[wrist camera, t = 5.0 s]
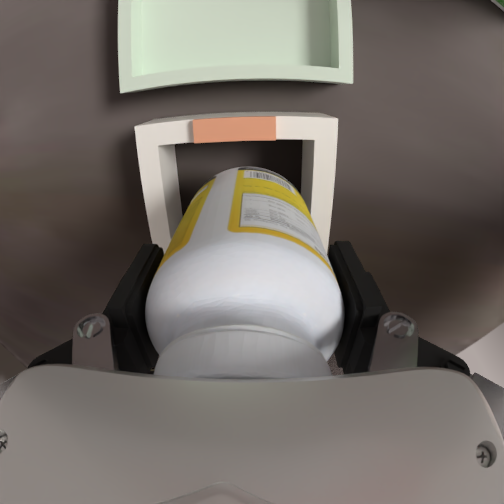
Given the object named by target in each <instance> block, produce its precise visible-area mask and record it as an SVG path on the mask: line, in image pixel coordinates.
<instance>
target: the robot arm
mask: <svg viewBox="0 0 504 504" xmlns="http://www.w3.org/2000/svg"><path fill="white" fill-rule="evenodd" d="M163 256H164V251H163V248H162V247H159V246H158V244H144V245H143V246H142V248H141V249H140V251H139V252H138V254H137V256H136V257H135V259H134V261H133V262H132V264H131V266H130V267H129V269H128V271H127V273H126V274H125V275H124V277H123V278H122V280H121V281H120V283H119V285H118V287H117V288H116V290H115V292H114V294H113V296H112V297H111V299H110V301H109V303H108V305H107V306H106V308H105V310H104V312H103V314H99V313H94V314H89V315H87V316H85V317H83V318H81V319H80V320H79V321H78V322H77V323H76V325H75V326H74V330H73V339H71V340H69V341H67V342H65V343H63V344H62V345H60V346H58V347H56V348H54V349H52V350H50V351H48V352H46V353H44V354H42V355H41V356H39V357H37V358H36V359H34V360H33V361H32V362H31V363H30V365H29V366H28V368H27V369H26V370H24V371H22V372H21V373H19V374H18V375H16V376H14V377H13V378H11V379H9V380H7V381H6V382H3V383H2V384H0V504H504V388H502V387H501V386H499V385H497V384H495V383H493V382H492V381H490V380H487V379H486V378H484V377H483V376H481V375H479V374H477V373H474V374H473V375H471V374H470V370H469V368H468V366H467V364H466V363H465V362H464V361H463V360H462V359H460V358H459V357H457V356H455V355H453V354H451V353H449V352H447V351H445V350H444V349H442V348H440V347H438V346H436V345H434V344H432V343H430V342H428V341H426V340H424V339H422V338H420V337H418V326H417V324H416V322H415V321H414V320H413V319H412V318H411V317H410V316H408V315H406V314H404V313H401V312H390V311H389V309H388V307H387V305H386V303H385V301H384V299H383V297H382V295H381V293H380V291H379V289H378V287H377V285H376V283H375V281H374V279H373V277H372V275H371V274H370V273H369V272H365V270H364V268H363V266H362V264H361V262H360V260H359V258H358V257H357V255H356V253H355V251H354V249H353V247H352V245H351V243H350V242H349V241H335V243H334V245H330V248H329V256H328V259H329V262H330V264H331V267H332V269H333V272H334V274H335V277H336V279H337V282H338V285H339V288H340V291H341V295H342V299H343V303H344V311H345V319H344V327H343V332H342V336H341V339H340V341H339V344H338V346H337V348H336V349H335V351H334V352H335V357H336V361H337V365H338V367H339V368H340V367H342V368H343V372H344V375H333V376H320V377H305V378H281V379H215V378H193V377H177V376H164V375H153V374H150V371H151V367H153V368H154V367H155V366H156V363H157V360H158V356H159V354H158V352H157V351H156V349H155V348H154V346H153V344H152V342H151V339H150V337H149V334H148V330H147V326H146V320H145V306H146V300H147V295H148V292H149V288H150V286H151V283H152V280H153V278H154V276H155V274H156V271H157V269H158V267H159V265H160V263H161V261H162V258H163Z"/></svg>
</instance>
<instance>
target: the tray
mask: <svg viewBox="0 0 504 504" xmlns="http://www.w3.org/2000/svg"><path fill="white" fill-rule="evenodd" d="M118 63H119V83H120V93H130V92H139V91H145V90H151V89H157V88H164V87H172V86H180V85H188V84H199V83H210V82H226V81H254V80H278V81H306V82H321V83H333V84H353V34H352V12H351V0H118Z"/></svg>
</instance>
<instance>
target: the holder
mask: <svg viewBox="0 0 504 504" xmlns="http://www.w3.org/2000/svg"><path fill="white" fill-rule="evenodd" d="M337 133H338V118H335V117H332V116H329V115H326V114H323V113H309V112H231V113H213V114H199V115H188V116H178V117H169V118H160V119H154V120H151V121H148V122H145V123H142V124H140V125H137V126H135V136H136V145H137V153H138V161H139V168H140V175H141V182H142V188H143V194H144V200H145V206H146V212H147V218H148V223H149V228H150V234H151V239H152V244H158V246H159V247H162V248H163V251H164V254H165V252H166V250H167V248H168V246H169V244H170V242H171V240H172V238H173V236H174V234H175V232H176V230H177V228H178V226H179V224H180V222H181V220H182V218H183V215H182V207H181V199H180V191H179V182H178V173H177V163H176V153H175V144H179V143H190V142H194V143H208V142H227V141H264V140H276V139H302V140H303V145H302V177H301V196H302V198H303V199H304V201H305V204H306V206H307V208H308V211H309V213H310V215H311V218H312V220H313V222H314V225H315V227H316V229H317V232H318V234H319V237H320V239H321V241H322V244H323V246H324V249H325V251H326V254H327V250H328V242H329V233H330V224H331V214H332V204H333V193H334V181H335V167H336V152H337Z"/></svg>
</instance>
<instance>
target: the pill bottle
mask: <svg viewBox="0 0 504 504" xmlns="http://www.w3.org/2000/svg"><path fill="white" fill-rule="evenodd" d="M344 319H345V311H344V303H343V299H342V295H341V291H340V288H339V285H338V282H337V279H336V277H335V274H334V272H333V269H332V267H331V264H330V262H329V259H328V256H327V254H326V251H325V249H324V246H323V244H322V241H321V239H320V237H319V234H318V232H317V229H316V227H315V225H314V222H313V220H312V218H311V215H310V213H309V211H308V208H307V206H306V204H305V201H304V199H303V198H302V196H301V194H300V193H299V192H298V190H297V189H296V188H295V187H294V186H293V185H292V184H291V183H290V182H289V181H288V180H287V179H285V178H284V177H282V176H281V175H279V174H277V173H275V172H272V171H270V170H267V169H263V168H258V167H237V168H232V169H229V170H226V171H223V172H221V173H219V174H217V175H215V176H214V177H212V178H211V179H209V180H208V181H207V182H206V183H204V185H203V186H202V187H201V188H200V189H199V190H198V191H197V193H196V194H195V196H194V197H193V199H192V201H191V203H190V205H189V207H188V209H187V210H186V212H185V214H184V216H183V218H182V220H181V222H180V224H179V226H178V228H177V230H176V232H175V234H174V236H173V238H172V240H171V242H170V244H169V246H168V248H167V250H166V252H165V254H164V256H163V258H162V261H161V263H160V265H159V267H158V269H157V271H156V274H155V276H154V278H153V280H152V283H151V286H150V288H149V292H148V295H147V300H146V306H145V320H146V326H147V330H148V334H149V337H150V339H151V342H152V344H153V346H154V348H155V349H156V351H157V352H158V354H159V355H160V356H159V359H158V362H157V363H156V367H155V371H154V375H164V376H177V377H193V378H215V379H281V378H305V377H320V376H332V373H331V370H330V367H329V365H328V364H327V361H328V360H329V359H330V357H331V356H332V354H333V353H334V351H335V349H336V348H337V346H338V344H339V341H340V339H341V336H342V332H343V327H344Z"/></svg>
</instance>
